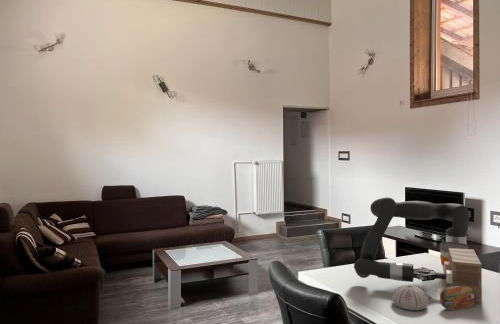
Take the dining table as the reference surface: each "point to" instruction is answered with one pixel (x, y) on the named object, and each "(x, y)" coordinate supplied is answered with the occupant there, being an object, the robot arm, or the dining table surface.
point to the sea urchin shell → (410, 298)
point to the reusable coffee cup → (445, 250)
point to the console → (466, 270)
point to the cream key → (449, 276)
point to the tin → (457, 297)
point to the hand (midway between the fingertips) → (445, 276)
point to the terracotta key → (446, 266)
